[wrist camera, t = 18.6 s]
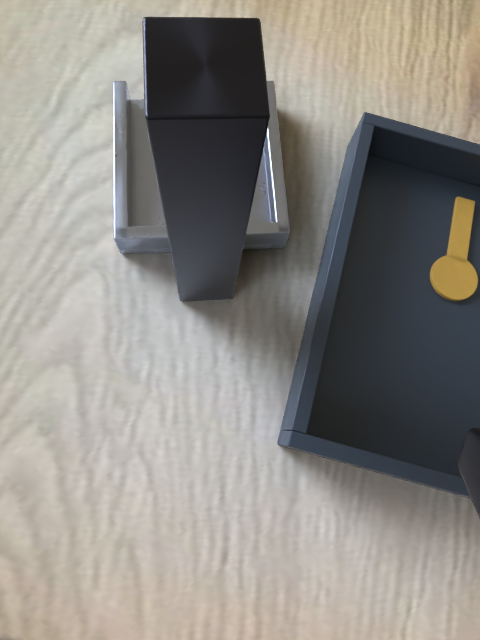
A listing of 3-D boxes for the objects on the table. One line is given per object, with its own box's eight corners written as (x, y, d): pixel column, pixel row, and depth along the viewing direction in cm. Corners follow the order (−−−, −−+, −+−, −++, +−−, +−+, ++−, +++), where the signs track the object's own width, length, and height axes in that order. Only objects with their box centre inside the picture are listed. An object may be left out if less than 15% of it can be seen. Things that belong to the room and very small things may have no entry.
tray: (554, 522, 19) (606, 535, 16) (277, 444, 19) (287, 445, 16) (576, 210, 23) (621, 183, 20) (347, 145, 23) (364, 111, 20)
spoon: (472, 306, 20) (475, 305, 20) (426, 293, 20) (428, 292, 20) (485, 207, 22) (488, 204, 22) (442, 195, 22) (444, 192, 21)
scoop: (289, 296, 20) (401, 115, 9) (120, 304, 20) (-1, 119, 8) (269, 104, 23) (335, -235, 11) (119, 105, 22) (25, -255, 11)
